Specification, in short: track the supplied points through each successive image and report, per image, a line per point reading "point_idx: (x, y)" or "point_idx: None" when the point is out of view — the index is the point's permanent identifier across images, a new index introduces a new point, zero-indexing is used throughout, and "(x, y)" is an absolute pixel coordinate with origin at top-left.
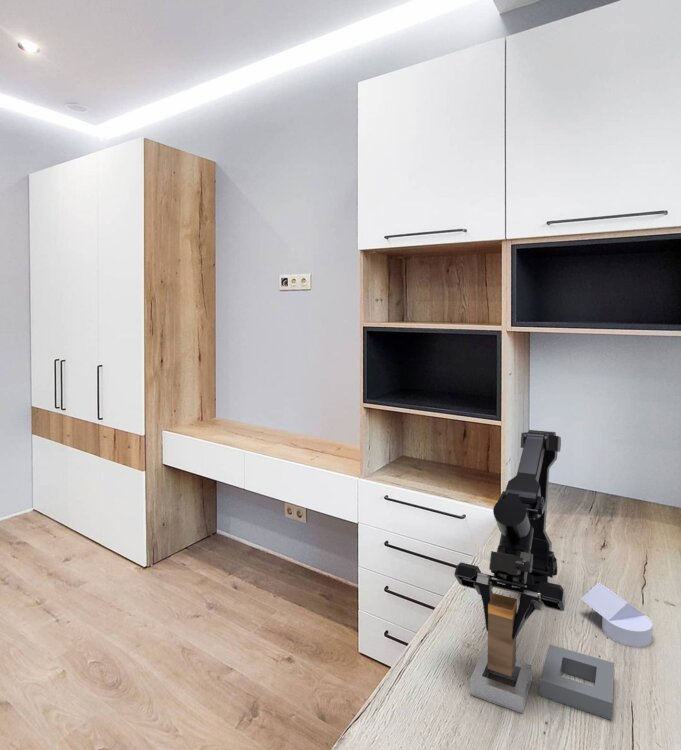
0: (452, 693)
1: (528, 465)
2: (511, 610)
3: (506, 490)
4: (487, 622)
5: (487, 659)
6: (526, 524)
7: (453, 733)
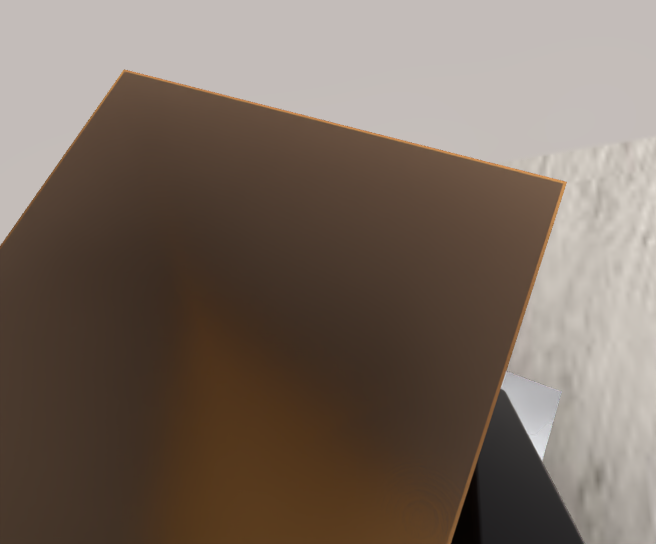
0: (635, 408)
1: None
2: (134, 76)
3: None
4: (499, 413)
5: None
6: None
7: (605, 185)
